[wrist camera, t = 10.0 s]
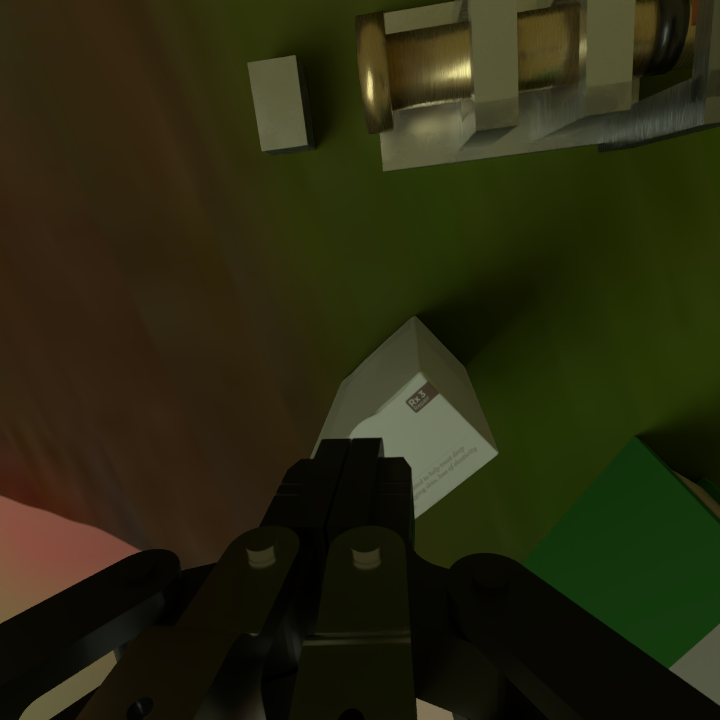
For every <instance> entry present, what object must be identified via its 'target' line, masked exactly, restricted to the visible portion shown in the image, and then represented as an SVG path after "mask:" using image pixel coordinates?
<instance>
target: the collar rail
mask: <svg viewBox="0 0 720 720" xmlns="http://www.w3.org/2000/svg"><path fill="white" fill-rule="evenodd" d="M577 2H580V37H579V84H577V85H570V86H563V87H556V88H549V89H542V90H536V91H529V92H522V93H518V44H517V12H523V11H529V10H535V9H541V8H547V7H553V6H559V5H565V4H571V3H577ZM635 2H636V0H455V1H452V2H447V3H441V4H435V5H429V6H423V7H418V8H412V9H406V10H400V11H394V12H389V13H384V19H385V28H386V34H390V33H396V32H402V31H408V30H414V29H420V28H427V27H433V26H439V25H445V24H451V23H457V22H463V21H469V44H470V67H471V91H472V100H467V101H460V102H453V103H446V104H439V105H433V106H426V107H419V108H412V109H405V110H398V111H393V117H394V131H391V132H384V133H380V141H381V151H382V162H383V171H384V172H388V171H396V170H404V169H411V168H419V167H427V166H434V165H442V164H450V163H458V162H465V161H473V160H481V159H488V158H496V157H504V156H511V155H519V154H527V153H535V152H542V151H550V150H558V149H565V148H573V147H581V146H588V145H596V144H599V150H598V152H606V151H614V150H622V149H629V148H634V147H638V146H642V145H646V144H650V143H654V142H659V141H663V140H667V139H671V138H675V137H679V136H683V135H687V134H691V133H695V132H699V131H703V130H707V129H711V128H715V127H719V126H720V0H693V7H692V20H691V26H693V25H696V32H695V45H694V58H693V71H692V78H690V79H688V80H686V81H684V82H681V83H679V84H677V85H674V86H672V87H670V88H668V89H665V90H663V91H661V92H659V93H656V94H654V95H652V96H650V97H647V98H645V99H643V100H641V101H639V84H640V78H637V77H635V76H632V69H633V47H634V25H635ZM248 69H249V75H250V81H251V88H252V94H253V100H254V106H255V112H256V118H257V125H258V131H259V137H260V143H261V149H262V152H265V153H268V154H271V155H280V154H287V153H294V152H302V151H309V150H316V147H315V140H314V132H313V125H312V117H311V109H310V102H309V94H308V87H307V79H306V71H305V67H304V65H303V64H302V63H301V62H300V60H299V59H298V58H297V57H296V55H293V56H287V57H281V58H275V59H269V60H263V61H257V62H250V63H248Z"/></svg>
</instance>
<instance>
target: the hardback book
mask: <svg viewBox="0 0 720 720" xmlns="http://www.w3.org/2000/svg"><path fill="white" fill-rule="evenodd" d="M521 565H523V566H524V567H526V568H527V569H528V570H530V571H531V572H533V573H534V574H535V575H537V576H538V577H540V578H541V579H542V580H544V581H545V582H547V583H548V584H549V585H551V586H552V587H554V588H555V589H556V590H558V591H559V592H561V593H562V594H564V595H565V596H566V597H568V598H569V599H571V600H572V601H573V602H575V603H576V604H578V605H579V606H580V607H582V608H583V609H585V610H586V611H587V612H589V613H590V614H592V615H593V616H594V617H596V618H597V619H599V620H600V621H601V622H603V623H604V624H606V625H607V626H609V627H610V628H611V629H613V630H614V631H616V632H617V633H618V634H620V635H621V636H623V637H624V638H625V639H627V640H628V641H630V642H631V643H632V644H634V645H635V646H637V647H638V648H639V649H641V650H642V651H644V652H645V653H647V654H648V655H649V656H651V657H652V658H654V659H655V660H656V661H658V662H659V663H661V664H662V665H663V666H665V667H666V668H668V669H669V670H670V671H672V672H673V673H675V674H676V675H677V676H679V677H680V678H682V679H683V680H684V681H686V682H687V683H689V684H690V685H692V686H693V687H694V688H696V689H697V690H699V691H700V692H701V693H703V694H704V695H706V696H707V697H708V698H710V699H711V700H713V701H714V702H715V703H717V704H718V705H720V488H719V487H717V486H716V485H715V484H714V483H713V482H712V481H710V480H708V479H707V478H705V477H702V478H701V479H700V480H699V481H698V482H697V483H696V484H695V483H693V482H692V481H690V480H688V479H687V478H685V477H683V476H681V475H680V474H678V473H676V472H675V471H673V470H672V469H671V468H670V467H669V466H668V465H667V464H666V463H665V462H664V461H663V460H662V459H661V458H660V457H659V456H658V455H657V454H656V453H655V452H654V451H653V450H652V449H651V448H650V447H649V446H648V445H647V444H646V443H645V442H644V441H642V440H641V439H639V438H637V437H636V436H634V437H633V438H632V439H631V440H630V441H629V442H628V444H627V445H626V446H625V447H624V448H623V449H622V450H621V452H620V453H619V454H618V455H617V456H616V457H615V458H614V459H613V461H612V462H611V463H610V464H609V465H608V466H607V467H606V469H605V470H604V471H603V472H602V473H601V474H600V475H599V477H598V478H597V479H596V480H595V481H594V482H593V483H592V484H591V486H590V487H589V488H588V489H587V490H586V491H585V492H584V494H583V495H582V496H581V497H580V498H579V499H578V500H577V502H576V503H575V504H574V505H573V506H572V507H571V508H570V509H569V511H568V512H567V513H566V514H565V515H564V516H563V517H562V519H561V520H560V521H559V522H558V523H557V524H556V525H555V527H554V528H553V529H552V530H551V531H550V532H549V533H548V534H547V536H546V537H545V538H544V539H543V540H542V541H541V542H540V544H539V545H538V546H537V547H536V548H535V549H534V550H533V552H532V553H531V554H530V555H529V556H528V557H527V558H526V560H525V561H524V562H523V563H522V564H521Z"/></svg>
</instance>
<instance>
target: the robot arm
mask: <svg viewBox="0 0 720 720" xmlns="http://www.w3.org/2000/svg"><path fill="white" fill-rule="evenodd" d="M414 537H415V514H414V499H413V483H412V468H411V467H410V465H409V464H408V463H407V461H406V460H405V458H404V457H385V455H384V444H383V439H382V437H379V438H353V439H351V438H342V439H322V440H321V442H320V444H319V447H318V449H317V451H316V454H315V456H314V458H313V459H301V460H299V461H298V462H297V463H296V464H294V465H293V466H292V467H291V468H289V469H288V470H287V472H286V474H285V476H284V478H283V480H282V482H281V485H280V486H279V488H278V490H277V492H276V496H274V498H273V500H272V502H271V504H270V506H269V508H268V510H267V512H266V514H265V516H264V518H263V520H262V522H261V524H260V526H259V527H258V528H255V529H252V530H249V531H247V532H245V533H243V534H241V535H240V536H238V537H237V538H236V539H235V540H233V541H232V542H231V544H230V545H229V546H228V547H227V549H226V550H225V552H224V553H223V555H222V556H221V558H220V559H219V561H218V562H216V563H213V564H209V565H204V566H200V567H195V568H191V569H186V570H182V569H181V565H180V561H179V558H178V557H177V555H176V554H175V553H173V552H171V551H169V550H164V549H152V550H146V551H142V552H139V553H136V554H133V555H131V556H128V557H126V558H125V559H122V560H121V561H119V562H117V563H115V564H113V565H111V566H109V567H107V568H105V569H104V570H101V571H100V572H98V573H96V574H94V575H92V576H90V577H88V578H86V579H84V580H83V581H81V582H79V583H77V584H75V585H73V586H71V587H69V588H67V589H66V590H63V591H62V592H60V593H58V594H56V595H54V596H52V597H51V598H48V599H46V600H44V601H43V602H41V603H39V604H37V605H35V606H33V607H31V608H29V609H27V610H26V611H24V612H22V613H20V614H18V615H16V616H14V617H12V618H10V619H9V620H7V621H5V622H3V623H1V624H0V720H19V718H20V716H21V715H22V713H23V712H24V710H25V709H26V708H27V707H28V706H29V705H30V704H31V703H32V702H33V701H34V700H36V699H37V698H39V697H40V696H42V695H43V694H45V693H46V692H48V691H50V690H51V689H53V688H54V687H56V686H58V685H59V684H61V683H62V682H63V681H65V680H67V679H68V678H70V677H72V676H73V675H75V674H76V673H78V672H79V671H81V670H82V669H84V668H86V667H87V666H89V665H90V664H92V663H94V662H95V661H97V660H98V659H100V658H101V657H103V656H104V655H106V654H108V653H109V652H111V651H112V650H113V651H114V654H115V657H116V661H117V664H116V665H115V666H114V668H113V669H112V671H111V672H110V673H109V674H108V676H107V677H106V679H105V680H104V681H103V682H102V684H101V685H100V686H99V687H97V688H96V689H94V690H93V691H91V692H90V693H88V694H87V695H85V696H84V697H82V698H81V699H79V700H78V701H76V702H75V703H73V704H72V705H70V706H69V707H67V708H66V709H64V710H63V711H61V712H60V713H58V714H57V715H56V716H54V717H52V718H51V719H50V720H417V708H416V698H418V699H420V700H423V701H425V702H428V703H430V704H433V705H435V706H438V707H440V708H443V709H445V710H448V711H450V712H452V714H453V718H454V720H720V705H718V704H717V703H715V702H714V701H713V700H711V699H710V698H708V697H707V696H706V695H704V694H703V693H701V692H700V691H699V690H697V689H696V688H694V687H693V686H692V685H690V684H689V683H687V682H686V681H684V680H683V679H682V678H680V677H679V676H677V675H676V674H675V673H673V672H672V671H670V670H669V669H668V668H666V667H665V666H663V665H662V664H661V663H659V662H658V661H656V660H655V659H654V658H652V657H651V656H649V655H648V654H647V653H645V652H644V651H642V650H641V649H639V648H638V647H637V646H635V645H634V644H632V643H631V642H630V641H628V640H627V639H625V638H624V637H623V636H621V635H620V634H618V633H617V632H616V631H614V630H613V629H611V628H610V627H609V626H607V625H606V624H604V623H603V622H601V621H600V620H599V619H597V618H596V617H594V616H593V615H592V614H590V613H589V612H587V611H586V610H585V609H583V608H582V607H580V606H579V605H578V604H576V603H575V602H573V601H572V600H571V599H569V598H568V597H566V596H565V595H564V594H562V593H561V592H559V591H558V590H556V589H555V588H554V587H552V586H551V585H549V584H548V583H547V582H545V581H544V580H542V579H541V578H540V577H538V576H537V575H535V574H534V573H533V572H531V571H530V570H528V569H527V568H526V567H524V566H523V565H521V564H520V563H518V562H517V561H515V560H513V559H511V558H508V557H505V556H502V555H498V554H492V553H478V554H472V555H468V556H465V557H463V558H461V559H459V560H458V561H456V562H455V563H454V564H453V565H452V566H451V568H450V569H447V568H443V567H440V566H437V565H434V564H431V563H429V562H427V561H426V560H424V559H422V558H421V557H420V556H419V555H417V554H416V552H415V551H414V544H415V538H414Z"/></svg>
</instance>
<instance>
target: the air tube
mask: <svg viewBox="0 0 720 720" xmlns="http://www.w3.org/2000/svg"><path fill="white" fill-rule="evenodd" d="M692 7H693V0H636V2H635V25H634V47H633V69H632V76H635V77H637V78H640V77H647V76H653V75H660V74H665V73H667V72H669V71H673V70H680V69H687V68H693V58H694V45H695V32H696V25H693V26H691V20H692ZM355 32H356V47H357V58H358V68H359V77H360V85H361V93H362V100H363V107H364V114H365V120H366V125H367V129H368V133H369V135H370V134H377V133H384V132H391V131H394V117H393V111H398V110H405V109H412V108H419V107H426V106H433V105H439V104H446V103H453V102H460V101H467V100H472V91H471V67H470V44H469V21H463V22H457V23H451V24H445V25H439V26H433V27H427V28H420V29H414V30H408V31H402V32H396V33H390V34H386V28H385V19H384V12H383V11H380V12H374V13H368V14H362V15H357V16H356V17H355ZM579 37H580V2H577V3H571V4H565V5H559V6H553V7H547V8H541V9H535V10H529V11H523V12H517V44H518V93H522V92H529V91H536V90H542V89H549V88H556V87H563V86H570V85H577V84H579Z"/></svg>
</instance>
